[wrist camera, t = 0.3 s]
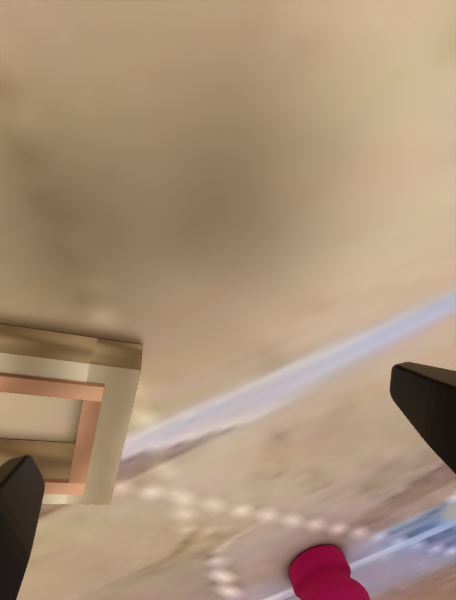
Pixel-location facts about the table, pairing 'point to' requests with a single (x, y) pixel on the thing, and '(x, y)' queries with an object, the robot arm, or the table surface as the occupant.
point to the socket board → (94, 413)
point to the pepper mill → (324, 576)
